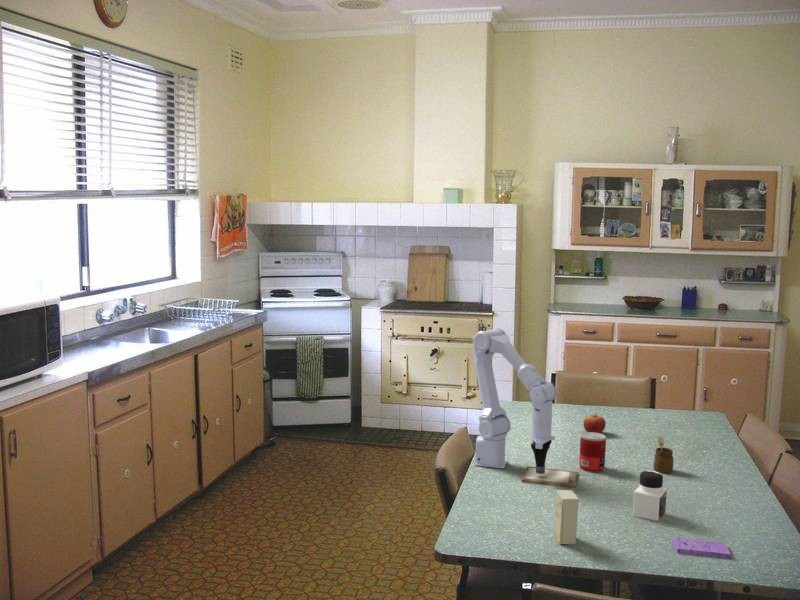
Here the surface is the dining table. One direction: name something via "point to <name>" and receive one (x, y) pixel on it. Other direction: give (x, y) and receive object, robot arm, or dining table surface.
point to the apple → (594, 423)
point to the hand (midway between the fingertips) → (540, 464)
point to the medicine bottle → (650, 496)
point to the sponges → (701, 547)
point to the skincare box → (565, 517)
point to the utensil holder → (663, 459)
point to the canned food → (592, 451)
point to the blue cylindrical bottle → (540, 469)
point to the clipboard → (551, 477)
